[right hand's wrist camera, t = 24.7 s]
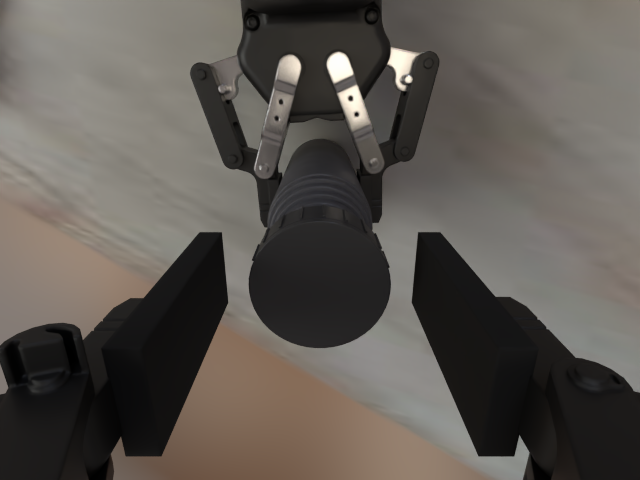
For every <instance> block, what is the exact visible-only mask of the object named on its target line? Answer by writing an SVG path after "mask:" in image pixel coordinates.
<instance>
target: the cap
mask: <svg viewBox="0 0 640 480" xmlns="http://www.w3.org/2000/svg"><path fill="white" fill-rule="evenodd" d="M381 249H382V247H381V245H380V242H379V239H378V237H377V235H376V233H375V234H374V233H373V232H372V230H371V229H370V228H369V227H368V226H367V225H366V224H365V222H364V220H363V219H359V218H358V217H357V216H355V215H353V214H351V213H350V212H347V211H346V209H343V210H342V209H339V208H335V207H330V206H325V204H322V206H310V207H304V206H302V207H301V209H297V210H295V211H292V212H290V213H288V214H286V215H284V214H283V215H282V217H281V218H280V219H279V220H278V221H276V222H275V223H274V224H273V225H272V226H271V227H270V228H269V227H268V228H267V230H266V233H265V236H264V237H263V239H262V241H261V244H258V246H257V249H256V251H255V254H254V256H253V259H252V261H254V262H253V264H252V267H251V271H250V276H249V293H250V298H251V302H252V304H253V307H254V309H255V311H256V313H257V315H258V316H259V318H260V319H261V320H262V322H263V323H264V324H265V325H266V326H267V327H268V328H269V329H270V330H271V331H272V332H274V333H275V334H276V335H278V336H279V337H281V338H283V339H284V340H287V341H289V342H291V343H294V344H297V345H300V346H305V347H312V348H328V347H335V346H339V345H343V344H346V343H349V342H351V341H353V340H355V339H357V338H359V337H360V336H362V335H363V334H365V333H366V332H367V331H368V330H370V329H371V328H372V327H373V326H374V325H375V324H376V323H377V321H378V320H379V318H380V317H381V316H382V314H383V312H384V310H385V308H386V306H387V303H388V300H389V296H390V288H391V281H390V273H389V269H388V268H389V264H388V261H387V259H386V256H385V254H384V251H382V250H381Z"/></svg>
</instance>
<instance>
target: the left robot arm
mask: <svg viewBox="0 0 640 480" xmlns="http://www.w3.org/2000/svg"><path fill="white" fill-rule="evenodd" d="M241 8H242V18H243V35H242V39H241V42H240V45H239V47H238V50H237V55H236V56H233V57H230V58H227V59H224V60H221V61H218V62H215V63H212V64H205V63H196V64H194V65H193V66H192V68H191V71H190V75H191V79H192V81H193V84H194V87H195V89H196V92H197V95H198V97H199V100H200V102H201V105H202V108H203V110H204V113H205V116H206V118H207V121H208V124H209V126H210V129H211V132H212V134H213V137H214V139H215V142H216V145H217V147H218V150H219V153H220V155H221V158H222V161H223V163H224V165H225V166H226V167H227V168H229V169H239V170H243V171H246V172H249V173H251V174H252V175H253V176H254V177H255V179H256V181H257V188H258V198H259V208H260V217H261V221H262V223H263V225H264V227H267V225H268V222H267V221H268V213H269V209H270V206H271V204H272V201H273V199H274V197H275V195H276V192H277V190H278V188H279V185H280V183H281V181H282V172H281V173H278V163H279V160H280V156H281V152H282V149H283V145H284V141H285V138H286V135H287V132H288V128H289V125H290V123H295V122H305V121H308V120H311V119H314V118H321V119H325V120H330V121H336V120H344V119H345V122H346V124H347V127H348V130H349V132H350V135H351V137H352V140H353V142H354V145H355V147H356V150H357V153H358V155H359V158H360V169H357V178H358V181H359V183H360V185H361V188H362V190H363V192H364V195H365V197H366V199H367V202H368V204H369V207H370V210H371V215H372V223H379V220H380V218H381V216H382V175H383V172H384V171H385V169H386V168H387V167H389V166H391V165H393V164H395V163H398V162H400V161H402V162H406V161H409V160H411V159H412V158H413V156H414V154H415V151H416V147H417V143H418V140H419V136H420V133H421V129H422V125H423V122H424V118H425V114H426V111H427V107H428V103H429V100H430V96H431V92H432V89H433V85H434V82H435V78H436V74H437V71H438V67H439V58H438V56H437V54H435V53H434V52H431V51H427V52H422V53H416V52H411V51H407V50H402V49H397V48H393V47H391V45H390V42H389V39H388V38H387V36H386V34H385V31H384V28H383V24H382V0H241ZM386 66H387V67H389V68H390V69H391V71H392V73H393V85H394V87H395V88H396V89H397V90H399V91H401V95H400V99H399V103H398V107H397V111H396V115H395V119H394V123H393V127H392V131H391V135H390V139H389V140H388V141H386V142H383V143H381V144H379V145H378V142H377V139H376V137H375V134H374V130H373V126H372V123H371V121H370V118H369V115H368V112H367V109H366V107H365V104H364V101H363V100H364V99H365V97H366V96H367V94H368V93H369V91H370V90H371V88H372V87H373V85H374V84H375V82H376V81H377V79H378V77H379V76H380V74H381V73H382V71H383V70H384V68H385V67H386ZM242 74H244V75H245V76H246V77H247V79H248V80H249V81H250V82H251V84H252V85H253V86H254V87H255V89H256V90H257V91H258V92H259V93H260V95H261V96H262V97H263V98H264V100H265V101H266V102H267V103H268V105H269V106H268V110H267V114H266V118H265V122H264V126H263V130H262V134H261V141H260V145H259V149H258V150H256V149H253V148H249V147H248V146H247V143H246V140H245V137H244V134H243V131H242V129H241V126H240V123H239V120H238V117H237V114H236V112H235V109H234V106H233V103H232V99H234V98H235V97H236V96H237V95H238V91H239V88H238V79H239V77H240V76H241V75H242Z"/></svg>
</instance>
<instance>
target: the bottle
mask: <svg viewBox="0 0 640 480" xmlns="http://www.w3.org/2000/svg"><path fill="white" fill-rule="evenodd" d="M322 204H325V206H330V207H335V208H339V209H342V210H343V209H346V211H347V212H350V213H351V214H353V215H355V216H357V217H358V218H359V219H363V220H364V222H365V224H366V225H367V226H368V227H369V228H370V229H371V230H372V215H371V210H370V207H369V204H368V202H367V199H366V197H365V195H364V192H363V190H362V188H361V185H360V183H359V181H358V178H357V176H356V174H355V171H354V169H353V167H352V164H351V162H350V160H349V157H348V155H347V154H346V152H345V151H344V150H343V149H342V148H341V147H340V146H339V145H338V144H336V143H334V142H332V141H329V140H325V139H314V140H310V141H308V142H306V143H304V144H302V145H301V146H300V147H299V148H298V149H297V150H296V151H295V152H294V154H293V155H292V157H291V160H290V162H289V164H288V167H287V169H286V171H285V174H284V176H283V178H282V181H281V183H280V185H279V188H278V190H277V192H276V195H275V197H274V199H273V201H272V204H271V206H270V209H269V213H268V221H267V222H268V225H267V228H268V227H269V228H270V227H271V226H272V225H273V224H274V223H275V222H276V221H278V220H279V219H280V218H281V217H282V215H283V214H284V215H286V214H288V213H290V212H292V211H295V210H297V209H301V207H302V206H304V207H310V206H322Z"/></svg>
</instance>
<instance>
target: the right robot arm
mask: <svg viewBox="0 0 640 480" xmlns="http://www.w3.org/2000/svg"><path fill="white" fill-rule="evenodd" d="M227 304H228V295H227V284H226V273H225V262H224V251H223V240H222V232H200V233H199V234H198V235H197V236H196V237H195V238H194V240H193V241H192V242H191V243H190V244H189V245H188V247H187V248H186V249H185V250H184V251H183V253H182V254H181V255H180V256H179V257H178V258H177V260H176V261H175V262H174V263H173V264H172V265H171V267H170V268H169V269H168V270H167V271H166V272H165V274H164V275H163V276H162V277H161V278H160V280H159V281H158V282H157V283H156V284H155V285H154V287H153V288H152V289H151V290H150V291H149V293H148V294H147V295H146V296H145V297H144V298H130V299H128V300H127V301H125V302H123V303H121V304H120V305H118V306H116V307H114V308H113V309H112V310H111V311H110V312H109V313H108V315H107V316H106V317H105V318H104V319H103V321H101V322H100V323H99V324H98V325H97V326H96V327H95V328H94V331H91V332H90V334H88V336H87V337H86V338H85V339H84V340H83V339H82V335H81V331H80V329H79V328H78V327H76V326H75V325H72V324H67V323H55V324H47V325H42V326H38V327H34V328H31V329H29V330H26V331H23V332H21V333H18V334H16V335H15V336H13V337H11V338H10V339H8V340H6V341H5V342H3V343H2V344H1V345H0V364H1V367H2V370H3V373H4V376H5V379H6V382H7V385H8V390H7V392H6V393H5V394H1V395H0V480H113V475H114V468H113V461H112V457H111V452H112V451H113V449H114V447H115V446H116V444H117V442H118V440H119V439H120V437H121V438H122V442H123V447H124V451H125V455H126V456H162V454H163V451H164V449H165V447H166V445H167V442H168V440H169V438H170V435H171V433H172V431H173V428H174V426H175V424H176V422H177V419H178V417H179V415H180V412H181V410H182V408H183V405H184V403H185V401H186V399H187V396H188V394H189V392H190V389H191V387H192V385H193V382H194V380H195V378H196V376H197V373H198V371H199V369H200V366H201V364H202V362H203V359H204V357H205V355H206V352H207V350H208V348H209V346H210V343H211V341H212V339H213V336H214V334H215V332H216V329H217V327H218V325H219V323H220V320H221V318H222V316H223V313H224V311H225V309H226V306H227ZM412 304H413V306H414V309H415V311H416V313H417V316H418V318H419V320H420V323H421V325H422V327H423V329H424V332H425V334H426V336H427V339H428V341H429V343H430V346H431V348H432V350H433V352H434V355H435V357H436V359H437V362H438V364H439V366H440V369H441V371H442V373H443V376H444V378H445V380H446V382H447V385H448V387H449V389H450V392H451V394H452V396H453V399H454V401H455V403H456V405H457V408H458V410H459V412H460V415H461V417H462V419H463V422H464V424H465V426H466V428H467V431H468V433H469V435H470V438H471V440H472V442H473V445H474V447H475V449H476V451H477V454H478V456H514V455H515V451H516V447H517V442H518V438H519V435H520V437H521V438H522V440H523V442H524V443H525V445H526V447H527V449H528V450H529V452H530V453H529V457H528V461H527V465H526V469H525V473H524V477H523V480H640V393H639V392H635V391H633V389H632V387H631V386H630V385H629V384H628V382H627V381H626V380H625V379H624V378H623V377H622V376H620V375H619V374H617V373H616V372H614V371H613V370H612V369H610V368H607V367H605V366H603V365H601V364H599V363H596V362H593V361H589V360H585V359H582V358H575V357H574V356H573V355H572V353H571V352H570V351H569V350H568V349H567V348H566V347H565V346H564V345H563V344H562V343H561V342H560V341H559V340H558V339H557V338H556V337H555V336H554V335H553V334H552V333H551V332H550V331H549V329H546V326H545V325H544V324H543V323H542V322H541V321H540V320H537V317H536V316H535V315H534V314H533V313H532V312H531V311H530V310H529V309H528V308H527V307H526V306H525V305H523V304H521V303H519V302H518V301H516V300H514V299H512V298H511V297H495V296H494V295H493V294H492V292H491V291H490V290H489V289H488V288H487V287H486V285H485V284H484V283H483V282H482V281H481V280H480V278H479V277H478V276H477V275H476V274H475V272H474V271H473V270H472V269H471V268H470V267H469V265H468V264H467V263H466V262H465V261H464V260H463V258H462V257H461V256H460V255H459V254H458V253H457V251H456V250H455V249H454V248H453V247H452V245H451V244H450V243H449V242H448V241H447V240H446V238H445V237H444V236H443V235H442V234H441V233H440V232H418V240H417V251H416V262H415V273H414V284H413V295H412Z"/></svg>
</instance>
